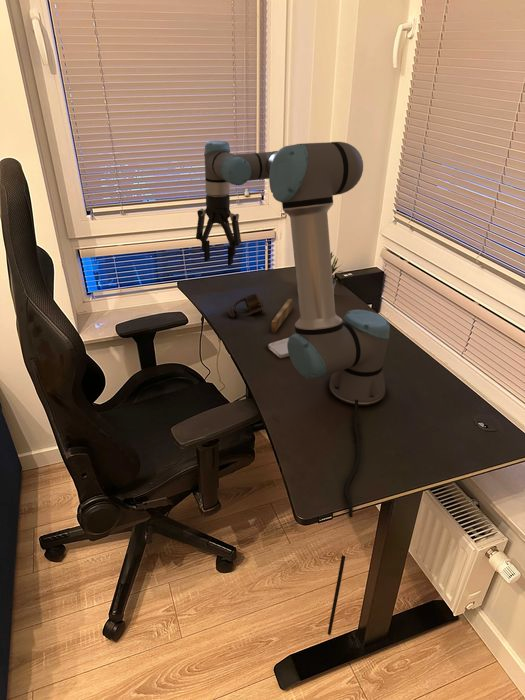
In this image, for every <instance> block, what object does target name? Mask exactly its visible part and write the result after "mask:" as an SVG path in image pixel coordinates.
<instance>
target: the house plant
mask: <svg viewBox="0 0 525 700" xmlns="http://www.w3.org/2000/svg"><path fill="white" fill-rule="evenodd" d="M330 253H331V260H332V259H333V257H334V256H335V254H333V251H330ZM338 261H339V258H337V256H335V257H334V259H333V260H332V263H331V265H332V278H333V290H334V291H335V286H336V283H337V281H338V278H334V277H335V275H336V274H338V273H340V272H342V273H344V271H343V270H338V271H336V270H337V269H338V268H339V266H337V263H338ZM342 265H343V263H341V264H340V266H342Z"/></svg>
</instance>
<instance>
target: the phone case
mask: <svg viewBox="0 0 525 700" xmlns="http://www.w3.org/2000/svg"><path fill="white" fill-rule="evenodd" d="M288 339H289V337H286V338H283V339H280V340H276V341H273V342H271V343H268V345H267V349H269V350H270V351H271V352H272V353H273V354H274V355H275V356H277V357H278V358H279V359H284V358H287V357H289V353H288V348H287V343H288V341H289V340H288Z"/></svg>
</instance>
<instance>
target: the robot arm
mask: <svg viewBox="0 0 525 700" xmlns="http://www.w3.org/2000/svg"><path fill="white" fill-rule="evenodd" d="M203 156H204V177H205V178H204V179H205V181H204V182H205V193H206V194H205V206H206V208H205V209H204V208H200V209H199V210H197V211H196V212H197V213H196V214H197V224H196V225H197V226H196V234H195V239H196V240H199V241H200V242H201V250H202V252H203V258H204V259H203V260H204V262H208V261H210V259H211V248H210V245H211V243H210V242H211V241H210V240H209V235H210V234H211V232H212V228H213V225H214V224H218V225H220V226H221V228H222V229H223V232H224V234H225V237H226V239H227V242H228V244H229V245H228V246H227V266H231V265H233V264H234V257H235V255H236V253H237V252H236V251H237V247H238V246H240V245H241V244H242V237H241V232H240V225H239V219H240V215H239V213H233V212H231V209H230V207H231V206H230V205H231V204H230V203H231V200H230V198H231V195H230V189H231V188H230V187H231V186H230V185H234V186H243V185H244V184H246V183H247V182H250V181H257V180H268V182H269V189H270V193H271V194H272V197H273V199H274V200H275V201H277V202H279V203H281V204H282V205H281V207H282V211H283V212H284V213H286V214H287V215H288V216H289V220H290V228H291V230H290V232H291V240H292V251H293V261H294V270H295V279H296V290H297V300H298V310H299V318H297V321H296V322H295V323H294V331H295V333H293V334H292V335H290V336H289V337H288V338H289V339H288V340H289V341H288V343H287V348H288V353H289V356H288V357H289V359H290V361H291V363H292V365H293V367H294V368H295V370H296V371H297V372H298V373H299V374H300V375H301V376H303V378H306V379H309V380H311V379H316V378H320V377H321V378H323V377H326V376H328V375H331V374H332V375H331V376H330V378H329V382H328V390H329V392H330V394H331V395H332V396H333V398H334V399H336V400H337V401H338V402H341V403H342V404H345V405H347V406H351V407H354V410H353V411H354V412H353V431H354V436H355V444H356V448H355V461H354V466H353V469H352V471H351V473H350V474H349V476H348V477H347V480H346V482H345V484H344V485H345V486H344V497H345V500H346V503H347V507H348V517H349V518H353V514H354V513H353V511H354V509H353V503H352V500H351V496H350V494H349V489H350V485H351V482H352V481H353V479H354V477H355V475H356V473H357V471H358V467H359V464H360V456H361V444H360V435H359V429H358V424H357V423H358V421H357V420H358V409H359V408H367V407H373V406H375V405H378V404H380V403H381V402H382V401H383V400H384V398H385V394H386V383H385V376H384V372H383V368H384V363H385V359H386V355H387V354H386V353H387V350H388V349H387V348H388V345H389V341H390V340H389V339H390V331H391V330H390V329H391V324H390V322H389V321H388V319H386V318H385V317H384V316H382V315H381V314H379V313H376V312H374V311H370V310H366V309H351V310H349V311H347V312H346V313H345V316H344V317H343V319H342V318H341V317H340V316H339V315H337V313H336V305H335V304H336V303H335V292H334V291H335V289H334V290H333V278H334V277H333V278H332V275H333V274H332V259H331V243H330V240H331V239H330V230H329V229H330V228H329V216H328V212H329V210H330V209H331V208H332V206H333V205H334V197H333V196H338V195H342V194H345V193H347V192H349V191H351V190H352V189H353V188H355V187H356V186H357V185H358V184H359V182H360V180H361V178H362V176H363V172H364V159H363V157H362V154H361V153H360V151H359V150H358V148H356V147H355V146H354V145H352V144H350V143H348V142H343V141H330V142H329V141H328V142H307V143H305V142H304V143H296V144H289V145H286V146H285V145H284V146H283V147H281V148H280V149H279V150H273V151H263V152H262V151H261V152H250V153H237V154H236V153H235V154H234V153H231V148H230V143H229V142H228V141H225V140H218V139H217V140H208V141H206V142H205V144H204V153H203ZM206 217H208V219H207V222H206V226H205V219H206ZM229 218H230V221H231V226H230V221H229ZM204 227H205V229H204ZM231 228H232V229H231ZM345 561H346V555H343V554H341V558H340V563H339V569H338V574H337V580H336V585H335V592H334V596H333V601H332V607H331V612H330V618H329V623H328V628H327V635H328V636H331V635H332V630H333V625H334V619H335V614H336V609H337V605H338V600H339V594H340V589H341V584H342V579H343V572H344V567H345Z"/></svg>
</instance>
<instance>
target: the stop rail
mask: <svg viewBox="0 0 525 700" xmlns="http://www.w3.org/2000/svg"><path fill="white" fill-rule="evenodd" d="M292 310H293V299H292V298H288V299H287V301H285V303H284V304H283V306H282V307H281V308H280V310H278V312H277V313H276V315H275V316H274V317H273V319H272V320H271V325H270V326H271V327H270V332H271V333H274V334H275V333H276V332H277V331H278V330H279V328H280V326H281V325H282V324H283V323H284V321H285V320H286V319H287V317H288V316H289V314H290V313H291V312H292Z"/></svg>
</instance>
